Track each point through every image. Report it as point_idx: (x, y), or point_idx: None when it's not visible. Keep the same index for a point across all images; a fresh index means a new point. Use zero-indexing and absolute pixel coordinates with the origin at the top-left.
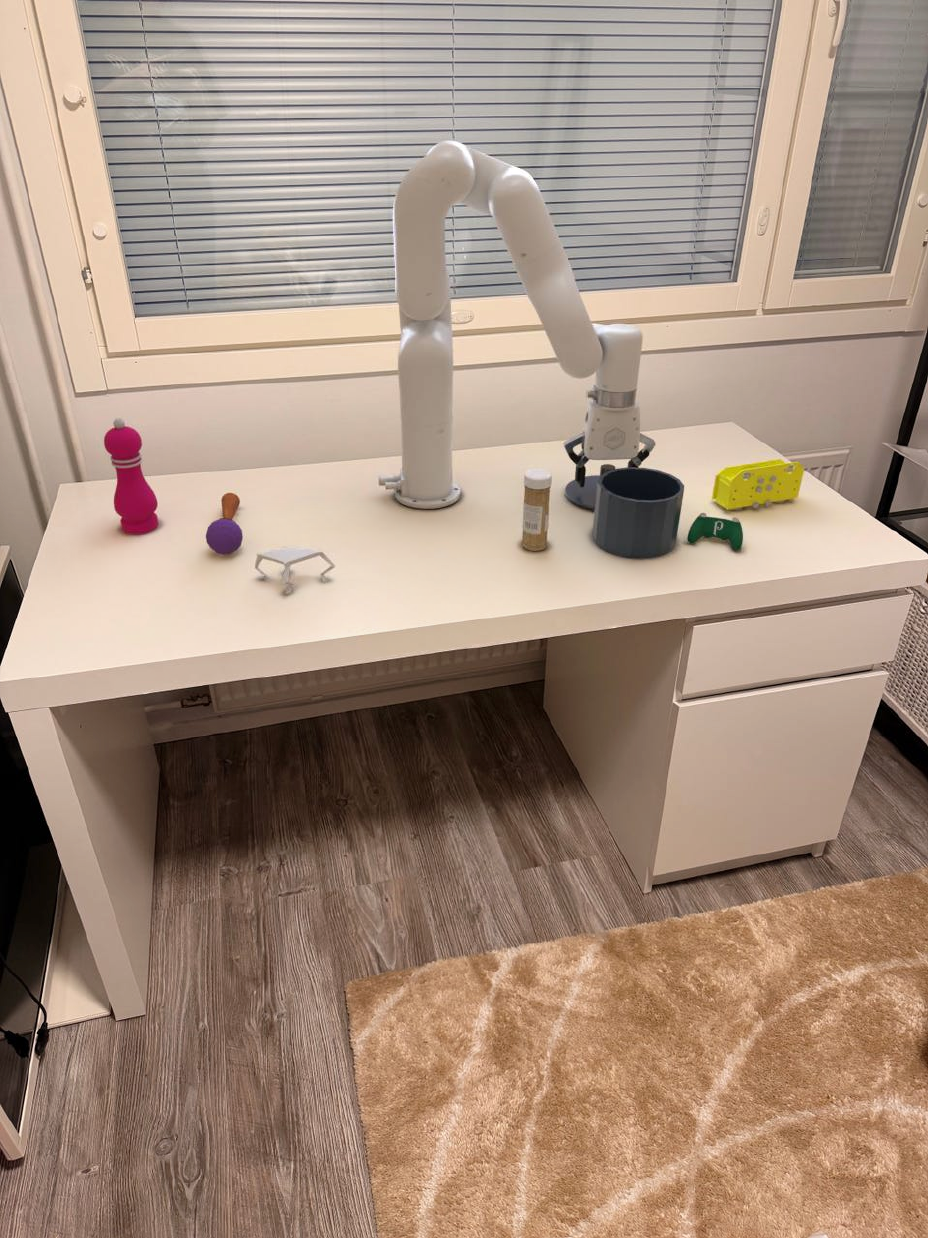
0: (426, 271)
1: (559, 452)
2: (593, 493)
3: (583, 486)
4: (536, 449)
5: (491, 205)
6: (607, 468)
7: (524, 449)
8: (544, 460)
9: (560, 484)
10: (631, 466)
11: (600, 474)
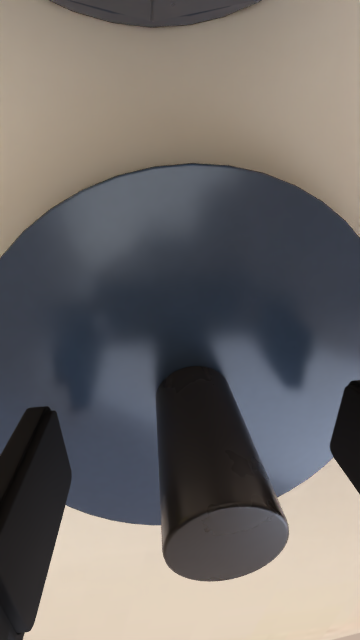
0: None
1: (249, 625)
2: (261, 371)
3: (350, 385)
4: (304, 628)
5: None
6: (243, 523)
7: (334, 624)
8: (309, 588)
9: (331, 466)
10: (2, 568)
11: (266, 473)
